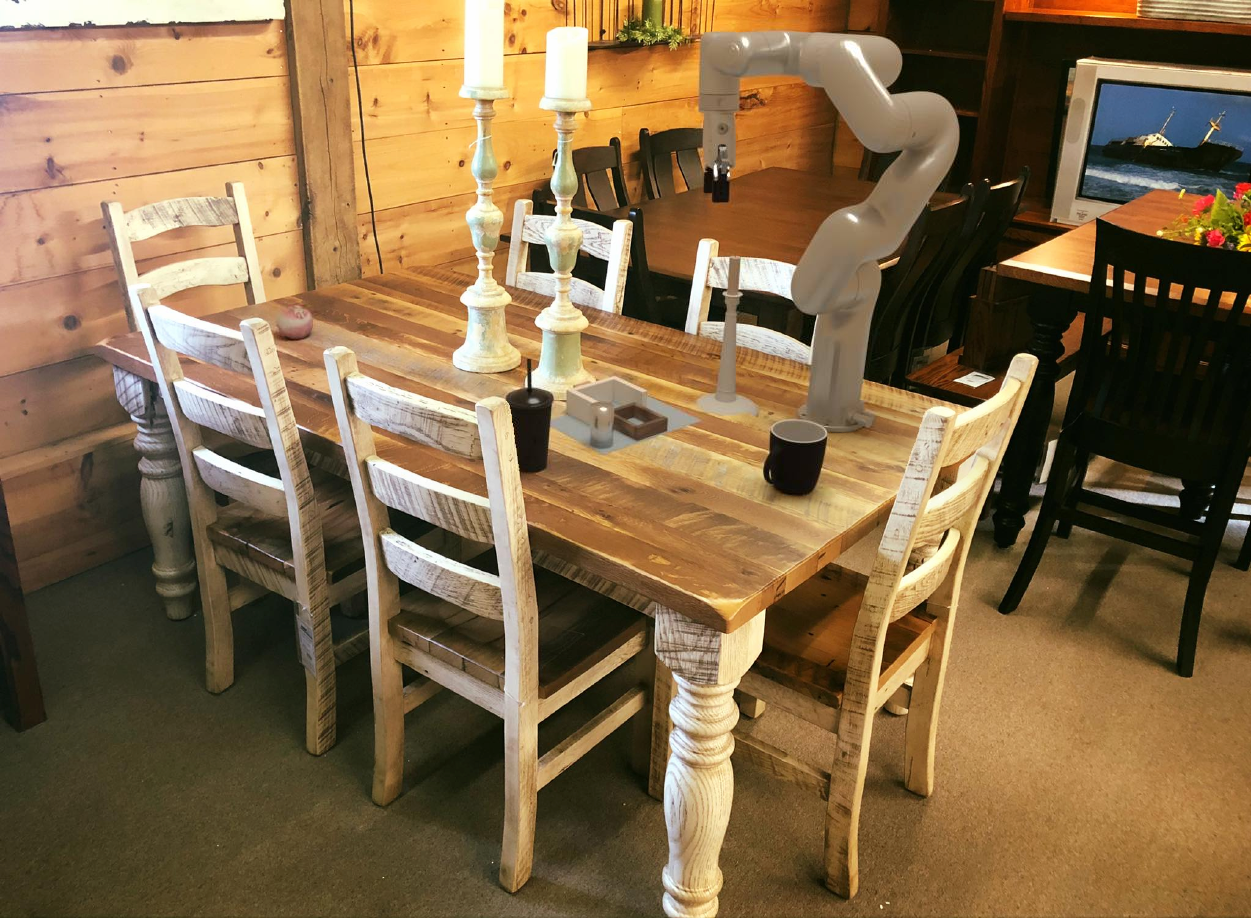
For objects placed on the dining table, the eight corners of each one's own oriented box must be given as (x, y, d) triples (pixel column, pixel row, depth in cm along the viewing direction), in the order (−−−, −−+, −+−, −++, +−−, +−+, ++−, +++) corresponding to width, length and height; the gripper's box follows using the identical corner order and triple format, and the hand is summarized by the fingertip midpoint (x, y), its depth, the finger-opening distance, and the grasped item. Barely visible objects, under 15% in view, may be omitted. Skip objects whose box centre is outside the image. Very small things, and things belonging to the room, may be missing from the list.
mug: (789, 470, 177) (795, 414, 172) (832, 489, 171) (839, 432, 166) (741, 491, 169) (745, 433, 165) (784, 511, 163) (789, 452, 159)
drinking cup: (498, 473, 173) (494, 358, 164) (534, 459, 178) (532, 347, 169) (528, 489, 168) (525, 371, 160) (564, 474, 173) (563, 360, 164)
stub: (618, 444, 181) (618, 406, 178) (600, 450, 178) (600, 412, 175) (603, 436, 183) (603, 399, 180) (585, 442, 181) (585, 405, 178)
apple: (309, 346, 228) (298, 319, 223) (276, 346, 230) (265, 319, 225) (322, 323, 234) (311, 297, 229) (289, 324, 235) (278, 297, 230)
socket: (667, 430, 186) (667, 417, 185) (637, 441, 182) (637, 427, 181) (634, 414, 192) (634, 402, 191) (604, 424, 188) (604, 411, 187)
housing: (646, 413, 193) (647, 390, 191) (598, 429, 186) (598, 405, 184) (604, 393, 201) (604, 371, 199) (556, 407, 194) (556, 385, 192)
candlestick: (739, 394, 206) (751, 243, 193) (770, 419, 195) (785, 261, 182) (679, 402, 202) (687, 248, 189) (708, 428, 191) (718, 266, 178)
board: (701, 428, 191) (701, 420, 191) (603, 462, 178) (603, 454, 177) (639, 399, 203) (639, 392, 202) (543, 429, 189) (543, 421, 188)
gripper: (748, 108, 187) (743, 205, 194) (730, 98, 203) (727, 189, 210) (706, 109, 187) (703, 206, 194) (691, 99, 202) (689, 190, 209)
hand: (715, 197), depth 202 cm, fingers open, 9 cm apart
